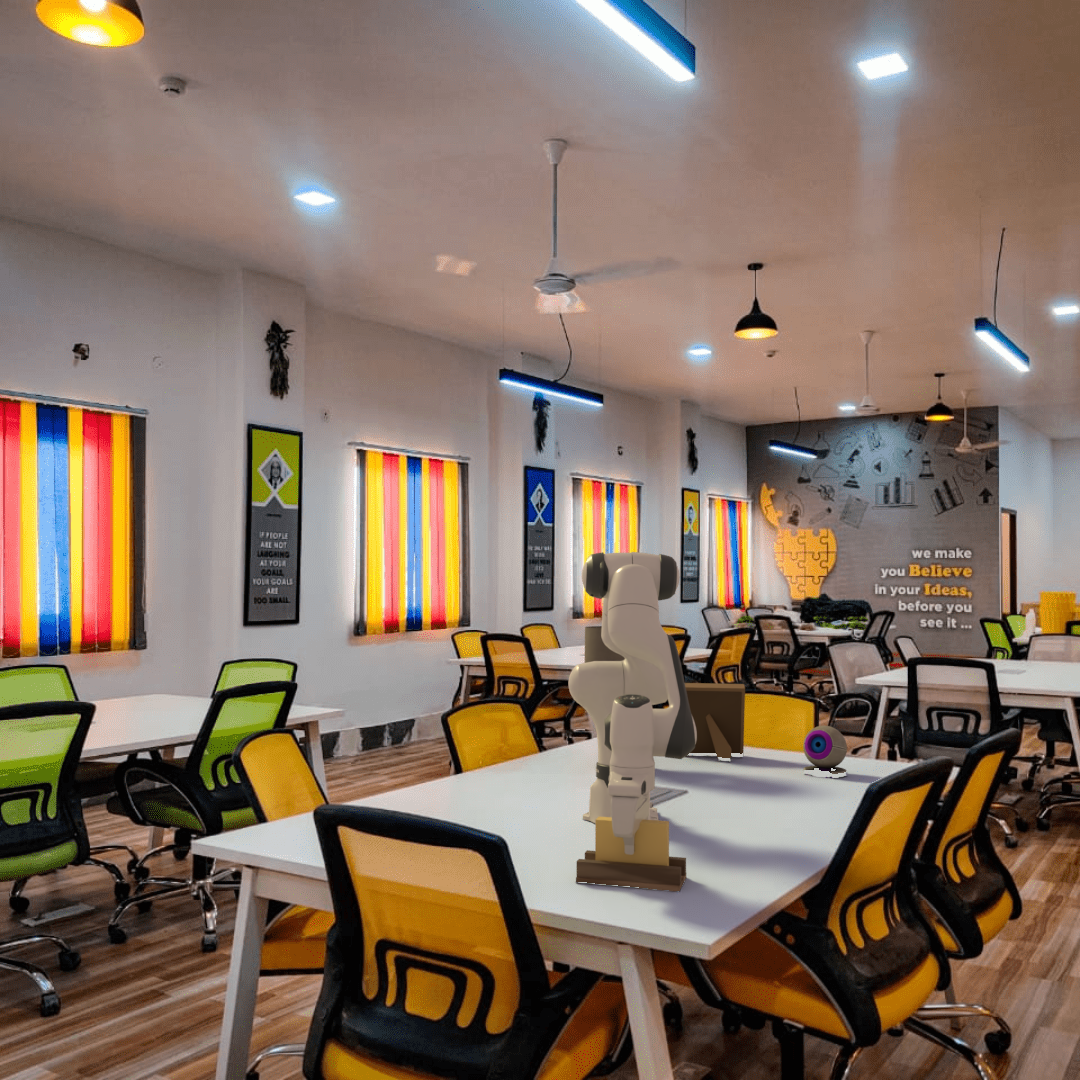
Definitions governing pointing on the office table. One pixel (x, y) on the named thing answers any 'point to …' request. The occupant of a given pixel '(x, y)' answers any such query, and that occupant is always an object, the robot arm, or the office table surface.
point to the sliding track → (632, 873)
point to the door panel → (647, 842)
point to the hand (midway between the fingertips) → (631, 850)
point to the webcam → (825, 749)
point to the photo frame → (717, 717)
